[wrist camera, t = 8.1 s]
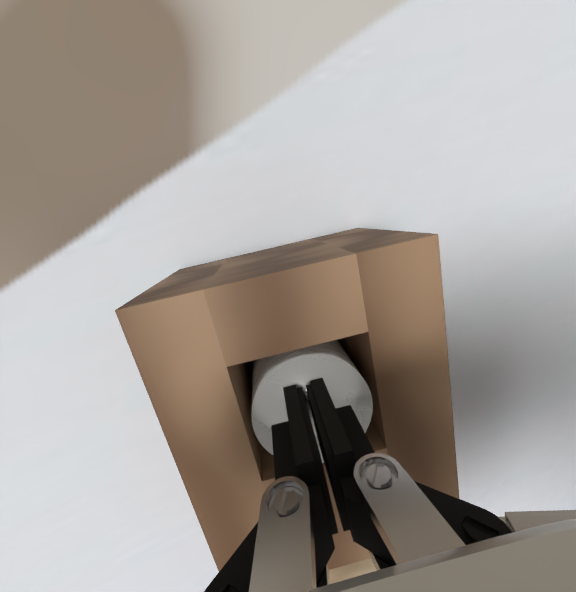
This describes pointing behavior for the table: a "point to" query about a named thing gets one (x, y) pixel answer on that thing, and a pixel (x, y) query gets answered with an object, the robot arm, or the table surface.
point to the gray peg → (301, 370)
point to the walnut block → (287, 337)
